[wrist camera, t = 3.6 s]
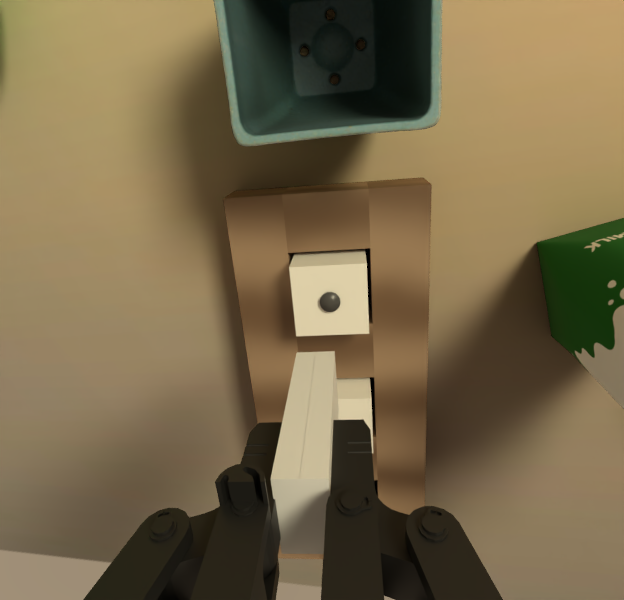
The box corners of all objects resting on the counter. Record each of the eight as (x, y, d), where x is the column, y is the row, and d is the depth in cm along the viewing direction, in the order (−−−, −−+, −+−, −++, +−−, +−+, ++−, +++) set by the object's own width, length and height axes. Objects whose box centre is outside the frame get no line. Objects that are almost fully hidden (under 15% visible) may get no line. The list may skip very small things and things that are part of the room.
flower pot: (412, 124, 26) (442, 127, 18) (268, 138, 27) (233, 148, 19) (411, -55, 23) (446, -150, 15) (247, -32, 24) (194, -110, 16)
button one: (366, 310, 30) (369, 335, 26) (301, 312, 30) (295, 337, 27) (364, 246, 28) (366, 264, 25) (295, 250, 28) (288, 268, 25)
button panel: (418, 528, 39) (423, 560, 36) (283, 527, 40) (278, 558, 37) (423, 177, 28) (431, 184, 25) (235, 190, 29) (223, 198, 26)
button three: (370, 420, 33) (373, 455, 30) (312, 421, 33) (308, 456, 30) (369, 369, 31) (371, 400, 28) (307, 371, 32) (302, 401, 28)
